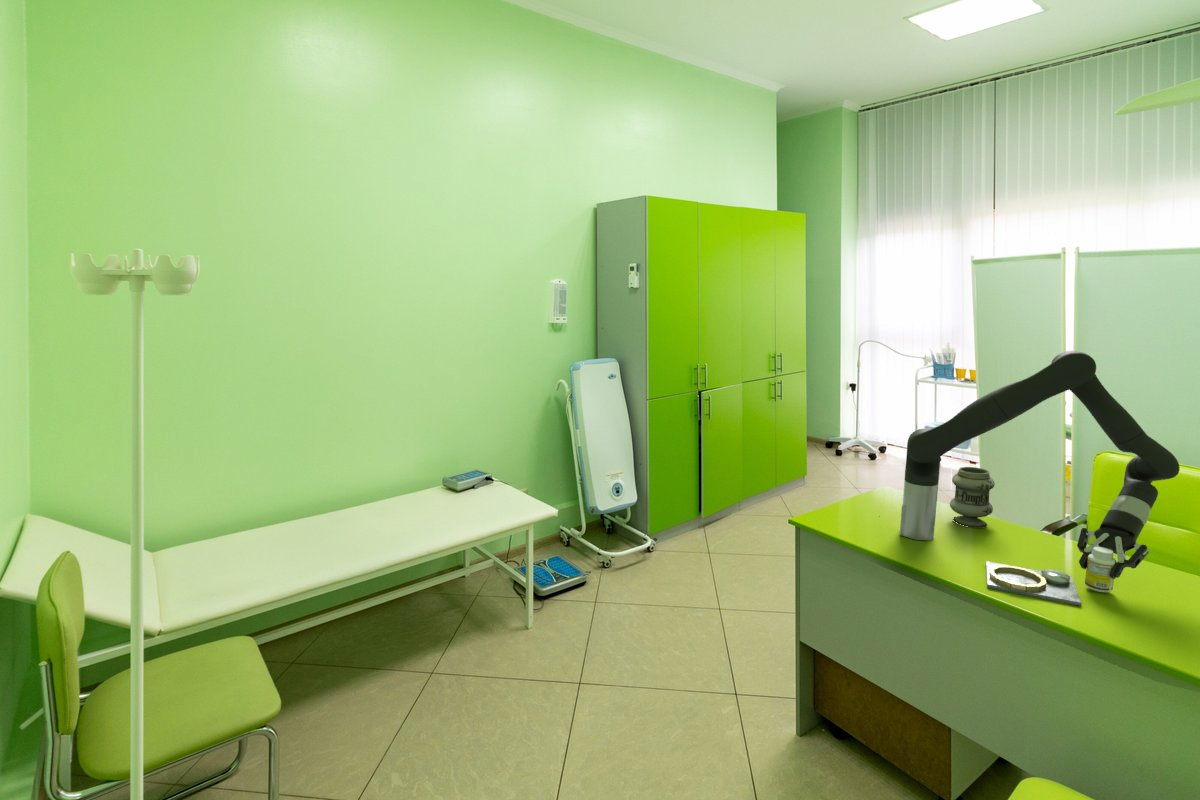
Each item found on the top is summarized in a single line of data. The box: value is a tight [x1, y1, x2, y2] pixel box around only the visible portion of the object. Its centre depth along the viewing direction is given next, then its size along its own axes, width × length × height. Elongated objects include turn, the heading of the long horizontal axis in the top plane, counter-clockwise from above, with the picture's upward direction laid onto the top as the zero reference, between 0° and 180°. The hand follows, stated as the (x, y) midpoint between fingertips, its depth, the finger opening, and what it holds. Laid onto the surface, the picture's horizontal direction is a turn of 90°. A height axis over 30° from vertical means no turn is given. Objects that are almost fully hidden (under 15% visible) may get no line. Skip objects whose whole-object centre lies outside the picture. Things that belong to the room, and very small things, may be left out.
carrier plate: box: [985, 560, 1082, 607], centre depth 158 cm, size 19×16×2 cm
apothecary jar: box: [949, 466, 996, 529], centre depth 199 cm, size 12×12×18 cm
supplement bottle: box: [1084, 547, 1117, 593], centre depth 154 cm, size 6×6×10 cm
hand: (1097, 571), depth 153 cm, fingers closed on supplement bottle, 5 cm apart
